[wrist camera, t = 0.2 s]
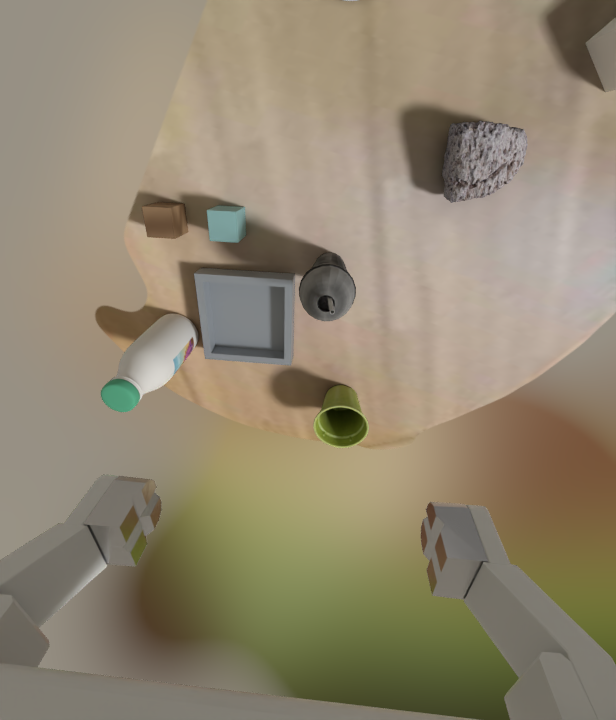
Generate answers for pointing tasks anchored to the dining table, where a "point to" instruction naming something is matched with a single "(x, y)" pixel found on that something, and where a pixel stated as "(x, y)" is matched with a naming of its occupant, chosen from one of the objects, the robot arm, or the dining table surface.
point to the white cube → (604, 54)
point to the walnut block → (165, 220)
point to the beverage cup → (327, 288)
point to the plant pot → (341, 419)
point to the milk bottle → (150, 361)
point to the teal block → (226, 223)
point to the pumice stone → (481, 158)
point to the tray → (246, 315)
